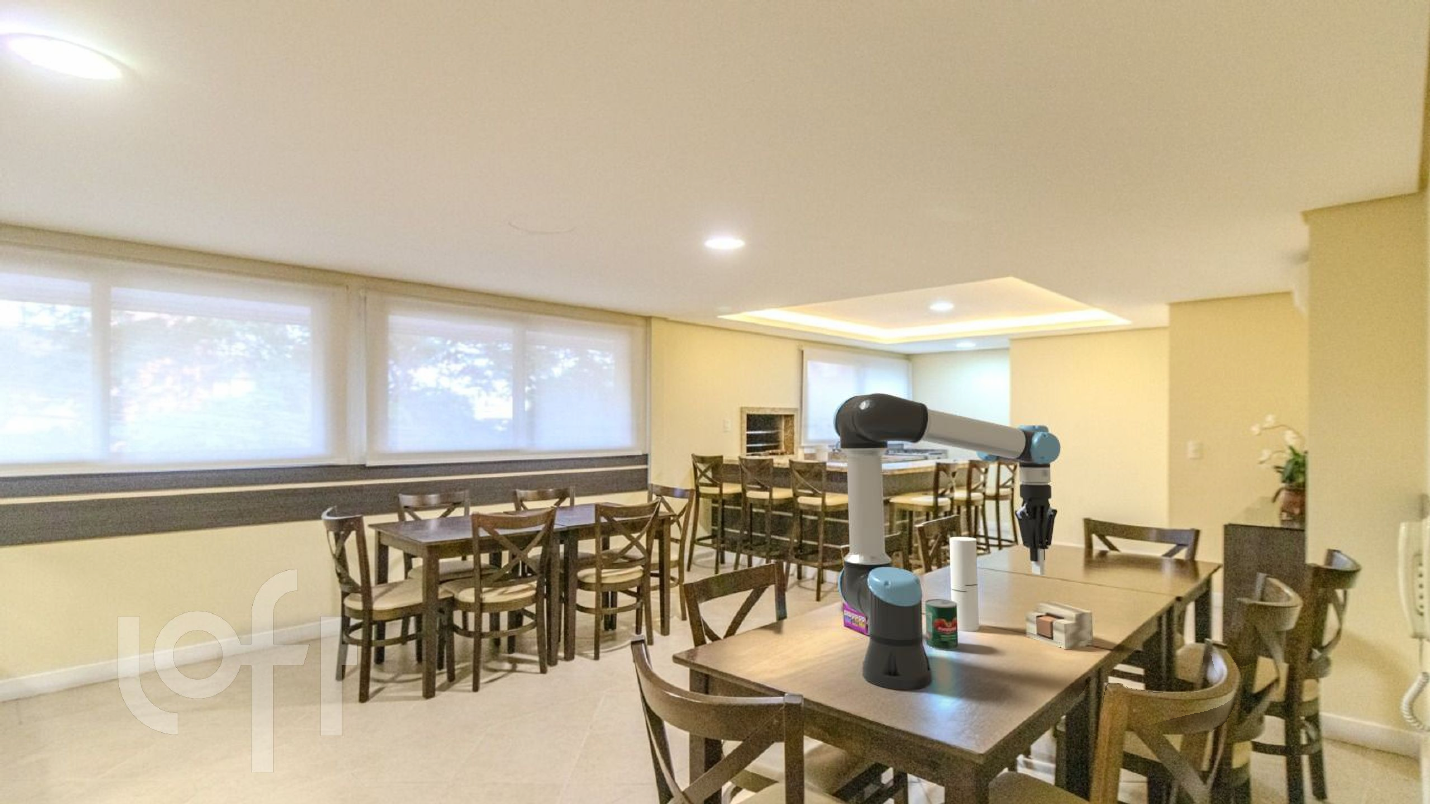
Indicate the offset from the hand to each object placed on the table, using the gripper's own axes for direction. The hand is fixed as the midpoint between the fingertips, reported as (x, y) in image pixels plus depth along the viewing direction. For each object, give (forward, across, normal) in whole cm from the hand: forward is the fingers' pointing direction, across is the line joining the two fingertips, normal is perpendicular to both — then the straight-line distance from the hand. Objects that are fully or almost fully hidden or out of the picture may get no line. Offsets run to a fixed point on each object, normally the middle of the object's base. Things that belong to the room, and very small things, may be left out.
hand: (1038, 573), depth 171 cm
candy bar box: (+18, -35, +29) cm, 49 cm away
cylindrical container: (+18, -7, +19) cm, 27 cm away
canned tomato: (+18, -24, +9) cm, 32 cm away
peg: (+16, +6, 0) cm, 17 cm away
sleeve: (+18, +7, 0) cm, 19 cm away
